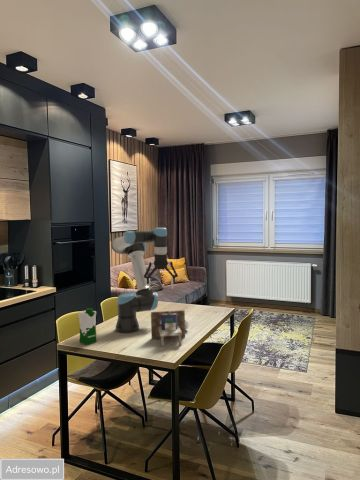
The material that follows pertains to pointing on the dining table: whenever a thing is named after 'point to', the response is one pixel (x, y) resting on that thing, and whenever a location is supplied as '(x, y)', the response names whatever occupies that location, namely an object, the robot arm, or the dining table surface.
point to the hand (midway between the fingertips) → (160, 289)
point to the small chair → (167, 326)
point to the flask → (168, 319)
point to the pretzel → (186, 324)
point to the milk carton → (87, 326)
